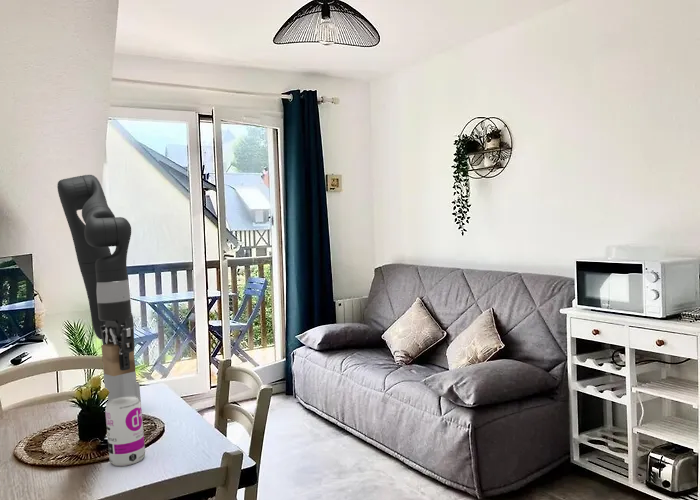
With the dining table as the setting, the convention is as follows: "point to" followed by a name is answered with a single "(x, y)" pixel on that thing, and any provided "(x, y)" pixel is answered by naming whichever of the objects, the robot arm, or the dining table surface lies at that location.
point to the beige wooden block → (115, 360)
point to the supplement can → (125, 430)
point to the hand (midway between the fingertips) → (119, 368)
